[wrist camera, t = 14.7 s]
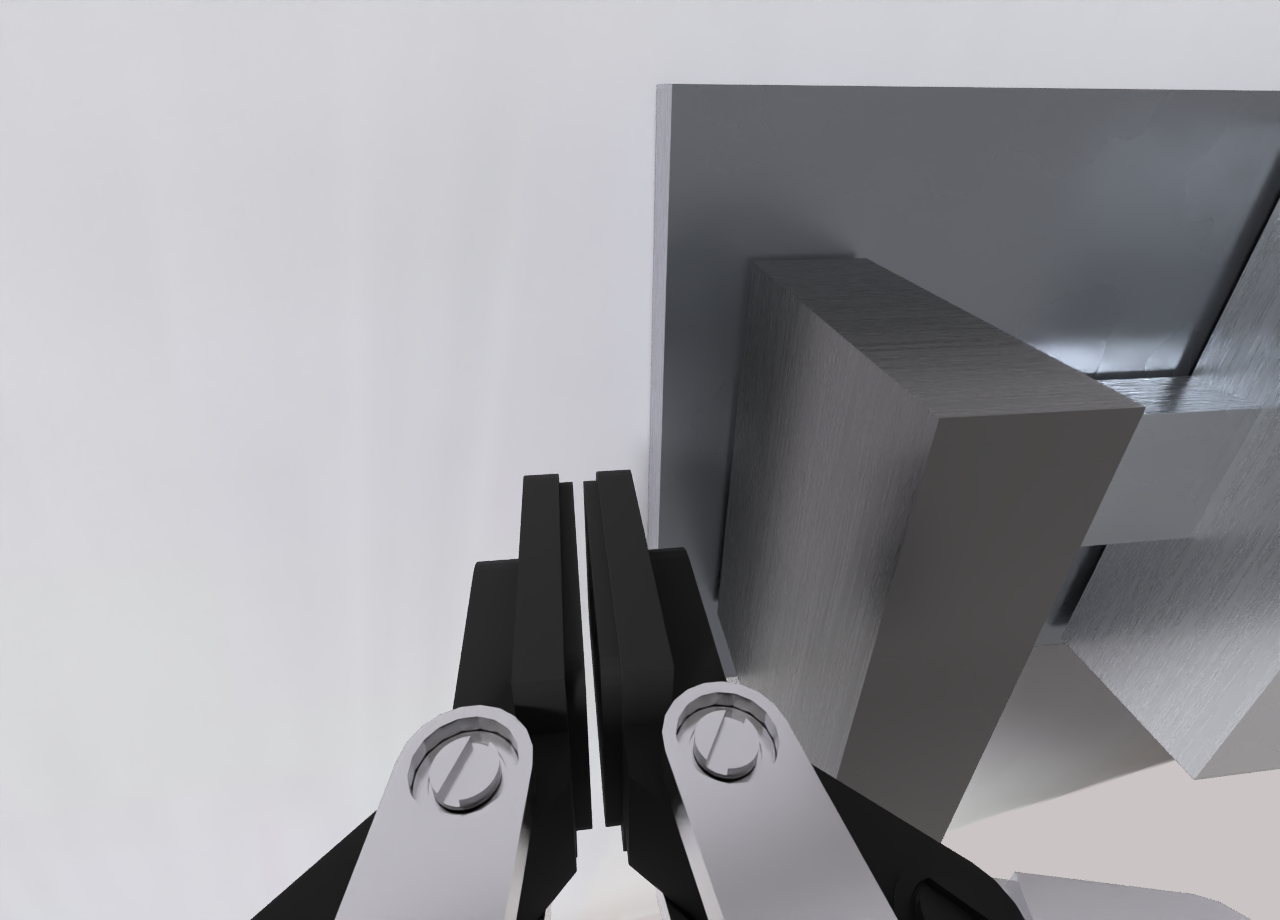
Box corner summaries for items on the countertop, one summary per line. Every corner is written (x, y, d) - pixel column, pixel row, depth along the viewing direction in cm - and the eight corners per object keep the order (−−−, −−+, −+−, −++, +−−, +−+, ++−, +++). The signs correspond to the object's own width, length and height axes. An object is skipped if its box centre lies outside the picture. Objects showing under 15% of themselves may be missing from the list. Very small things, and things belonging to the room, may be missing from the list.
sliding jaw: (711, 672, 15) (788, 945, 11) (765, 123, 9) (1012, 164, 4) (1145, 629, 17) (1393, 853, 12) (1441, 126, 11) (2210, 160, 6)
